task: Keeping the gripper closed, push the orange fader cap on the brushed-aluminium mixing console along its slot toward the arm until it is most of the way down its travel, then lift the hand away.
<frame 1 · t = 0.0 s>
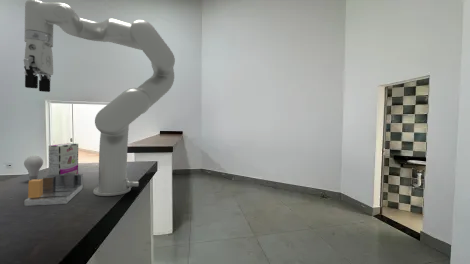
hand: (38, 89, 81), 37 cm above the table, tool pointing down, fingers open, 9 cm apart
console: (57, 196, 82), on the table
lightbulb: (33, 182, 99), on the table
candy bar box: (63, 183, 100), on the table
fader cap: (35, 188, 75), point 5 cm above the table, slide at 0.0 cm
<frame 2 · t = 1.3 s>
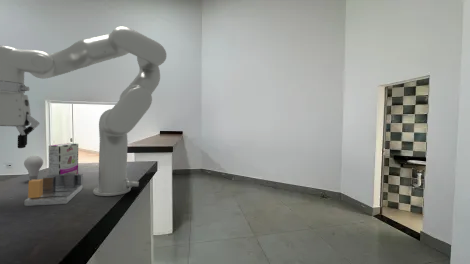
hand: (6, 147, 72), 18 cm above the table, tool pointing down, fingers open, 6 cm apart
nothing on the table moved.
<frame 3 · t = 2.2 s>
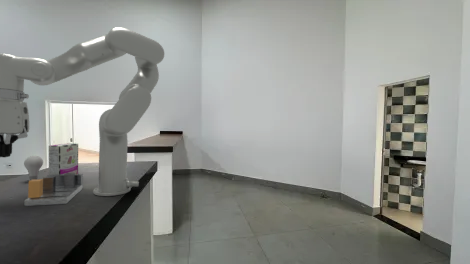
hand: (4, 156, 71), 15 cm above the table, tool pointing down, fingers closed
nothing on the table moved.
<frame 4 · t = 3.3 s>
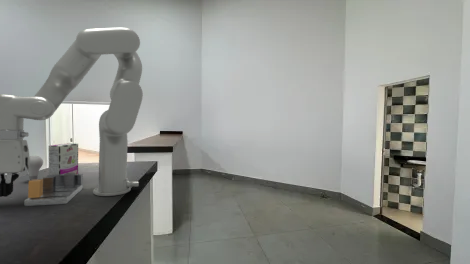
hand: (5, 195, 72), 3 cm above the table, tool pointing down, fingers closed
nothing on the table moved.
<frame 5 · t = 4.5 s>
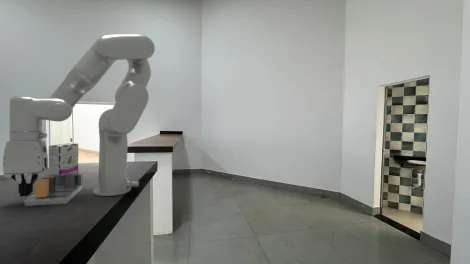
hand: (25, 195, 74), 3 cm above the table, tool pointing down, fingers closed
fader cap: (41, 188, 75), point 5 cm above the table, slide at 1.6 cm, touching gripper
everything else where it was.
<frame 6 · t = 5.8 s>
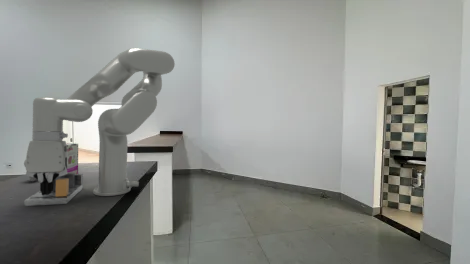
hand: (46, 193, 76), 3 cm above the table, tool pointing down, fingers closed
fader cap: (62, 187, 77), point 5 cm above the table, slide at 7.1 cm, touching gripper
everything else where it was.
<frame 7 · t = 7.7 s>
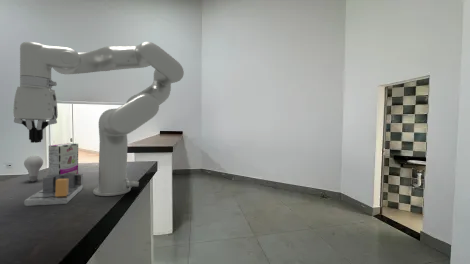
hand: (36, 142, 75), 19 cm above the table, tool pointing down, fingers closed
fader cap: (62, 187, 77), point 5 cm above the table, slide at 7.1 cm
everything else where it was.
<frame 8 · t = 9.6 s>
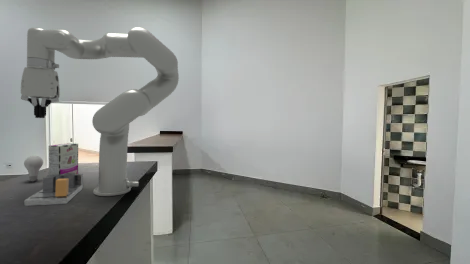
hand: (40, 117, 84), 27 cm above the table, tool pointing down, fingers closed
nothing on the table moved.
at the end: fader cap slide at 7.1 cm; the gripper is holding nothing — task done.
